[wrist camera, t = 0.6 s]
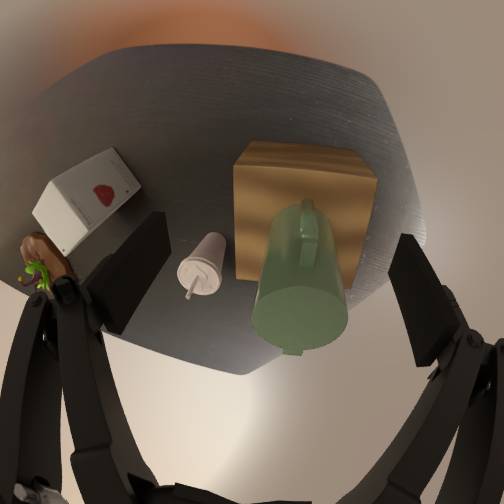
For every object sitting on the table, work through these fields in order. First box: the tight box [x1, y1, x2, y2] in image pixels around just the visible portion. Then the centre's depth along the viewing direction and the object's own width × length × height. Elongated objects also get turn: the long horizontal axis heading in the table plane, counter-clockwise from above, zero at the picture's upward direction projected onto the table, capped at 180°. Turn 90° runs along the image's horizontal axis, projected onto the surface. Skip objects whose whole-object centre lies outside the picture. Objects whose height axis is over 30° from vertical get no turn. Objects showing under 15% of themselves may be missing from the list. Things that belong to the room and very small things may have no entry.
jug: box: [251, 198, 348, 356], centre depth 23 cm, size 10×7×12 cm, turn 179°
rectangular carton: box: [32, 147, 142, 257], centre depth 35 cm, size 9×9×15 cm
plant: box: [19, 232, 77, 296], centre depth 52 cm, size 20×20×11 cm
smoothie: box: [177, 232, 226, 299], centre depth 39 cm, size 6×6×14 cm
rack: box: [233, 141, 378, 289], centre depth 33 cm, size 14×14×12 cm
